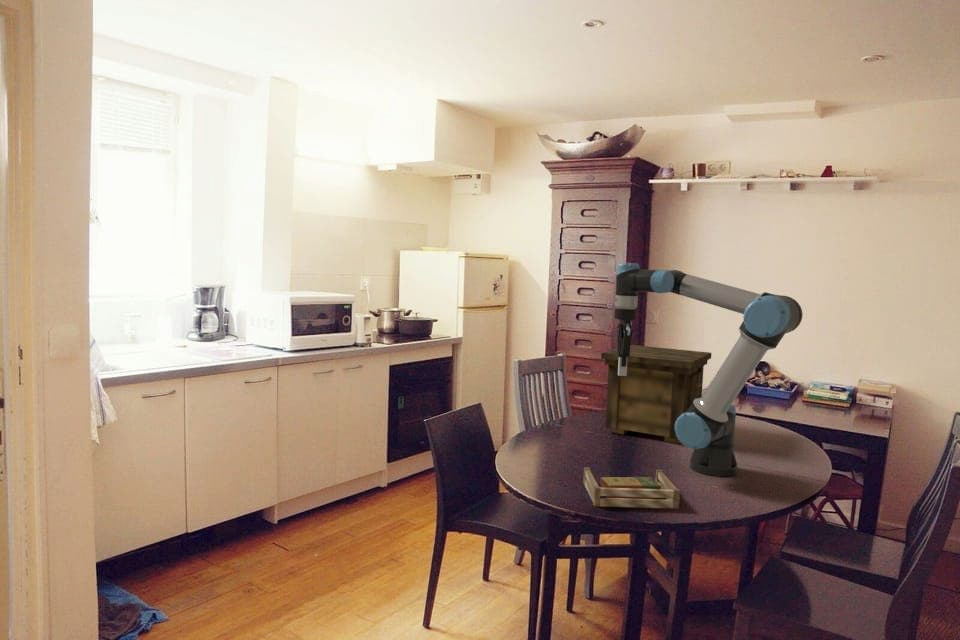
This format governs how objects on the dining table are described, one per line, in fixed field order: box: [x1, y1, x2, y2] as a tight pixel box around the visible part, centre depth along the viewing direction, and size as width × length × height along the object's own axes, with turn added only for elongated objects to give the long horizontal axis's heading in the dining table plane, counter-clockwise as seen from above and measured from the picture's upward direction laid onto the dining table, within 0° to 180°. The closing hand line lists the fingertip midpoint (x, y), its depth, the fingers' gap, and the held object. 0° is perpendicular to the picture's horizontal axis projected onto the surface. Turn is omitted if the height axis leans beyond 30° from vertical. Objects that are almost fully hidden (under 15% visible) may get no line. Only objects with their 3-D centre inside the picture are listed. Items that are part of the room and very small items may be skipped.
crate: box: [600, 344, 712, 445], centre depth 261 cm, size 35×35×33 cm
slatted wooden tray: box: [582, 466, 681, 510], centre depth 187 cm, size 24×18×5 cm
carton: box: [599, 476, 661, 499], centre depth 189 cm, size 8×16×4 cm, turn 97°
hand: (622, 375), depth 221 cm, fingers closed
